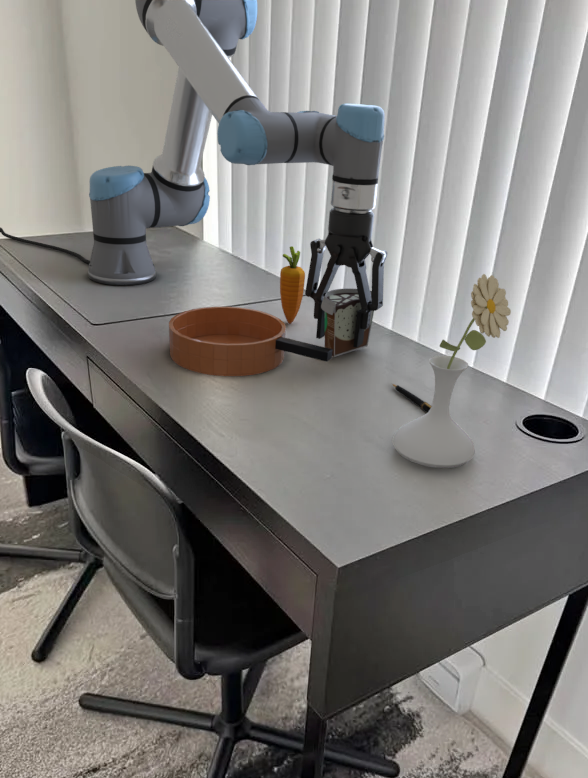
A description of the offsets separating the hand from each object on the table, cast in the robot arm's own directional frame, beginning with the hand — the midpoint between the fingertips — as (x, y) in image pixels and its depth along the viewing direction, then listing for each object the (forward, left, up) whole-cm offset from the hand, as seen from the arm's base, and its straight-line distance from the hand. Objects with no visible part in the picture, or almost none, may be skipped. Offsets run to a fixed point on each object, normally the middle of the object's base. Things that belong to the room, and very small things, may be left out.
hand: (339, 340), depth 129 cm
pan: (-16, -13, -2) cm, 21 cm away
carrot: (-15, +9, -3) cm, 18 cm away
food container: (0, 0, -2) cm, 2 cm away
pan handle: (-1, -13, +1) cm, 13 cm away
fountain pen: (+20, -13, -3) cm, 24 cm away
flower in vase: (+28, -28, -3) cm, 40 cm away
